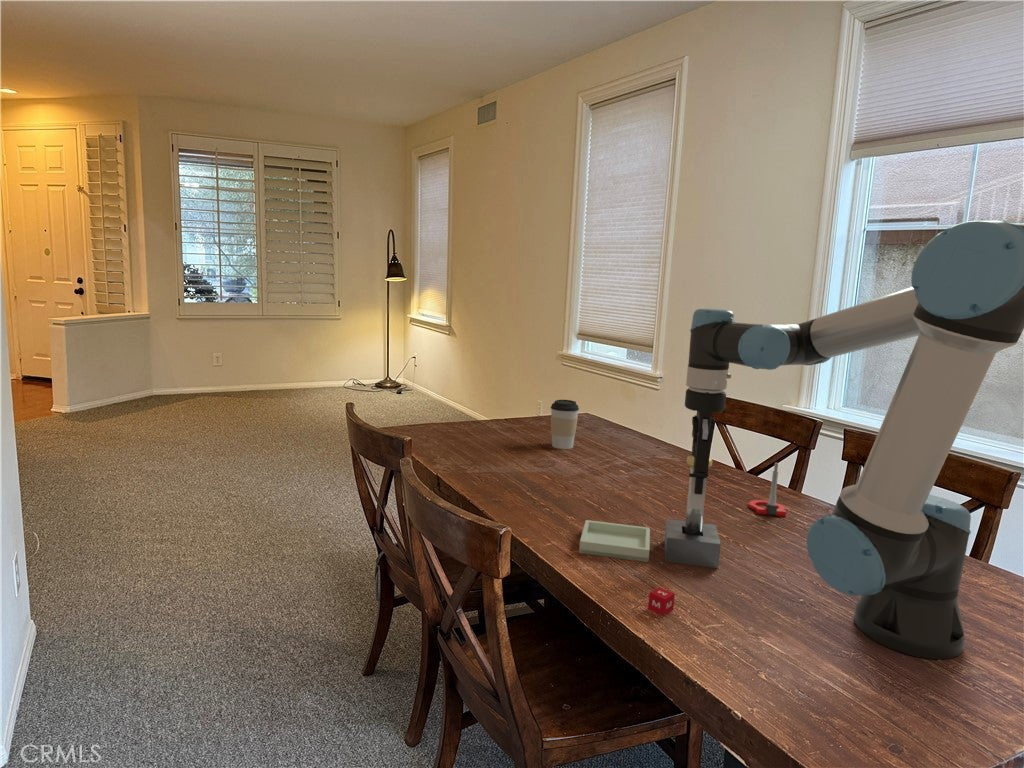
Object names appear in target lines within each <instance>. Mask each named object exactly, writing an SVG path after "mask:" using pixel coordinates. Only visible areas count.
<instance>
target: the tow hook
mask: <svg viewBox="0 0 1024 768" xmlns="http://www.w3.org/2000/svg"><path fill="white" fill-rule="evenodd" d="M778 470H779V462H774V467H773V471H772V474H771V475H772V476H771V484H770V486H771V487H770V493H769V495H768V500H761V499H754V500H750V501H748V507H749V508H750V509H751V510H754V511H755V512H756V514H757V515H764V516H765V515H766V516H770V515H772V516H773V517H784V516H785V517H786V516H787V511H786V507H785V506H784V505H782V504H780V503H777V486H778V477H779V471H778ZM759 504H764V505H763V506H766V507H762V506H760V505H759ZM777 508H778V509H777Z"/></svg>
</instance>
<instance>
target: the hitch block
mask: <svg viewBox="0 0 1024 768" xmlns="http://www.w3.org/2000/svg"><path fill="white" fill-rule="evenodd" d="M685 524H686V520H678V519H668V518H666V520H665V530H664V531H665V532H664V542H663V543H664V545H663V546H664V562H666V563H674V564H681V565H689V566H697V567H703V568H711V569H719V562H720V553H721V552H720V551H721V544H722V543H721V540H720V536H719V532H718V528H717V525H716V524H712V523H704V522H702V532H701V536H698V535H690V534H685Z"/></svg>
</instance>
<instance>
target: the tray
mask: <svg viewBox="0 0 1024 768" xmlns="http://www.w3.org/2000/svg"><path fill="white" fill-rule="evenodd" d="M650 534H651V527H648V526H637V525H631V524H621V523H613V522H605V521H597V520H590V519H589V520H588V519H585V523H584V525H583V528H582V532H581V537H580V540H579V549H578V553H579V554H585V555H590V556H591V555H593V556H600V557H607V558H615V559H621V560H622V559H623V560H630V561H637V562H645V563H649V560H650V559H649V558H650V549H651V548H650V544H651V543H650V542H651V541H650V540H651V539H650V538H651V537H650V536H651V535H650Z"/></svg>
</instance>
